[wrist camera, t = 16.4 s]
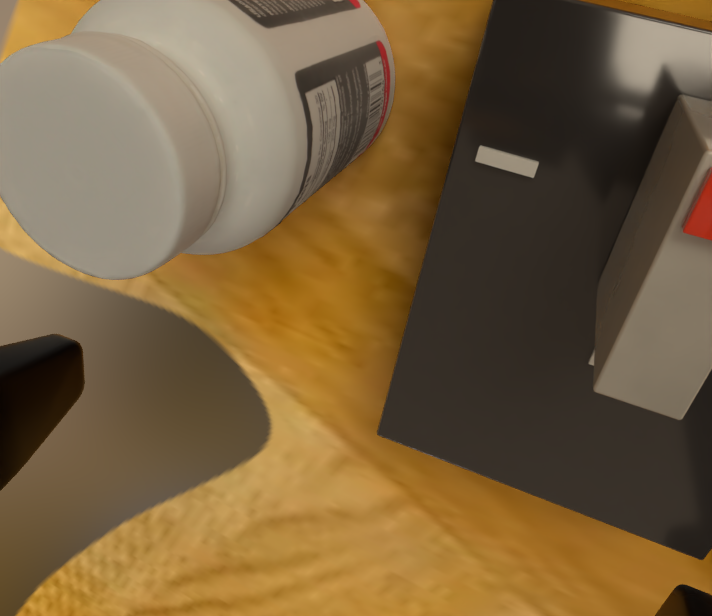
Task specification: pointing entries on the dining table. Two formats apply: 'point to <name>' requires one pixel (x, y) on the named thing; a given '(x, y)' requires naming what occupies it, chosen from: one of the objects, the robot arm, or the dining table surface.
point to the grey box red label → (662, 276)
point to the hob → (553, 270)
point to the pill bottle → (185, 124)
